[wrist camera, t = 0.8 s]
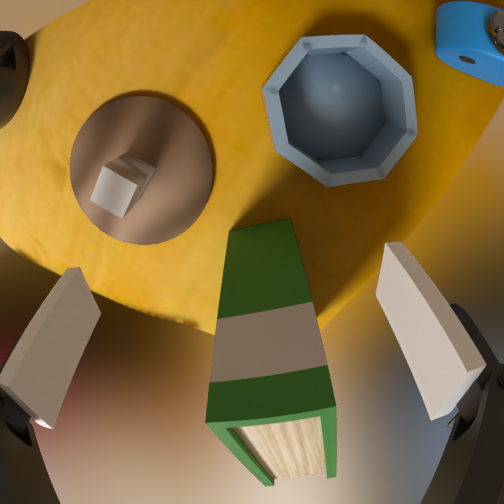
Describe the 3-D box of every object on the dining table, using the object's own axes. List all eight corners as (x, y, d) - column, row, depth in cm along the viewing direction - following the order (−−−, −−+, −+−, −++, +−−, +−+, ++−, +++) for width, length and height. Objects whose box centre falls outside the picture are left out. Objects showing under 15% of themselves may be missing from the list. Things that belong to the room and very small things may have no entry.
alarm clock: (490, 49, 21) (572, 57, 8) (488, 88, 24) (572, 109, 11) (414, 10, 21) (498, -13, 8) (413, 54, 24) (503, 50, 11)
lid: (59, 199, 33) (29, 223, 27) (109, 72, 25) (76, 71, 19) (170, 263, 38) (156, 297, 32) (244, 144, 30) (242, 158, 24)
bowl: (238, 120, 29) (236, 126, 24) (313, 20, 23) (327, 6, 18) (341, 190, 33) (358, 210, 28) (410, 101, 27) (438, 106, 22)
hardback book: (309, 323, 43) (336, 476, 23) (261, 332, 44) (265, 486, 24) (290, 218, 35) (336, 406, 14) (229, 231, 35) (205, 422, 15)
